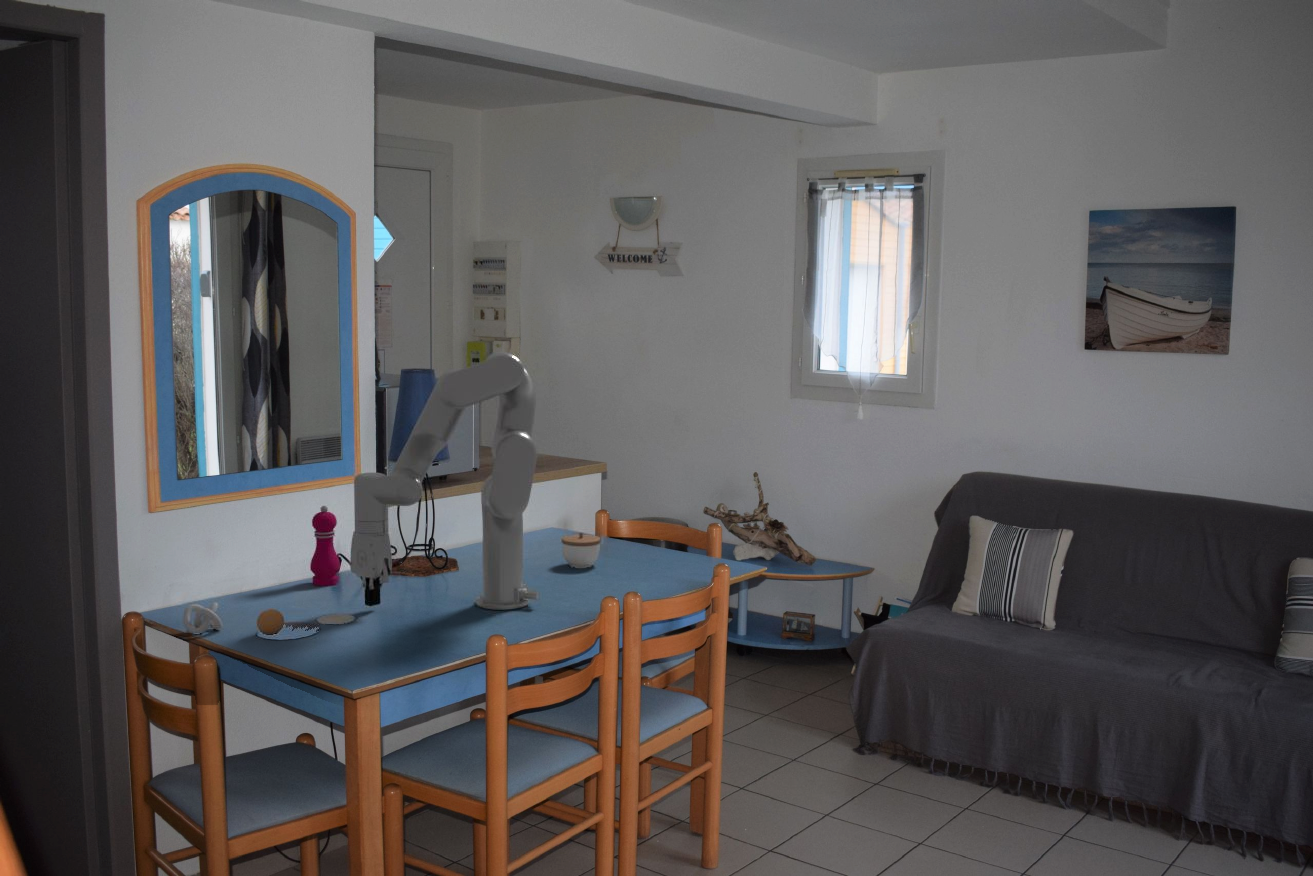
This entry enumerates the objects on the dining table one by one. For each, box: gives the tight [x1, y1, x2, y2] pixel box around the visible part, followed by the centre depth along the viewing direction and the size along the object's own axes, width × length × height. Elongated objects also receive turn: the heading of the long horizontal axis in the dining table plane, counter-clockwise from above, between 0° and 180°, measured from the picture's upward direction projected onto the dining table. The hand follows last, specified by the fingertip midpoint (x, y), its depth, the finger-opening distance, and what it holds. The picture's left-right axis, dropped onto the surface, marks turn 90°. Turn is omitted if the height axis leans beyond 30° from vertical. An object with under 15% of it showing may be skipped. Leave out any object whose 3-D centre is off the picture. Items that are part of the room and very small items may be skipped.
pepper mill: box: [309, 505, 341, 587], centre depth 275 cm, size 7×7×20 cm
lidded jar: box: [561, 531, 602, 569], centre depth 300 cm, size 11×11×9 cm
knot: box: [182, 601, 223, 634], centre depth 234 cm, size 8×8×6 cm
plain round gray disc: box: [316, 613, 355, 625], centre depth 244 cm, size 8×8×1 cm
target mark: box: [284, 621, 321, 632], centre depth 235 cm, size 13×13×1 cm
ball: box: [256, 608, 285, 635], centre depth 232 cm, size 6×6×6 cm
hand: (372, 604), depth 252 cm, fingers closed
